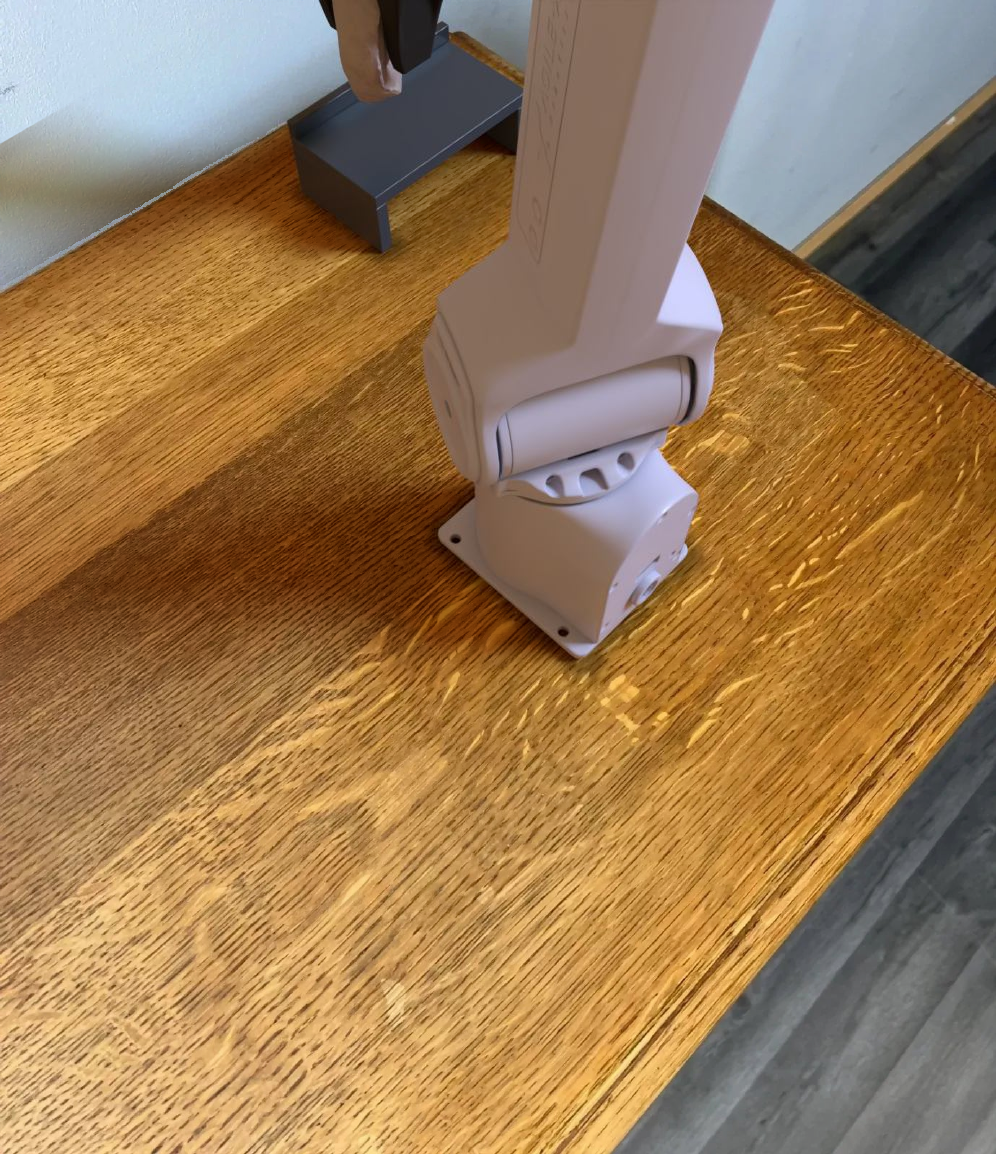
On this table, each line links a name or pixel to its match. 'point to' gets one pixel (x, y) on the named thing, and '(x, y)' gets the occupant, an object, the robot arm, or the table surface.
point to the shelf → (399, 135)
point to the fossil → (365, 50)
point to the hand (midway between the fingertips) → (379, 40)
